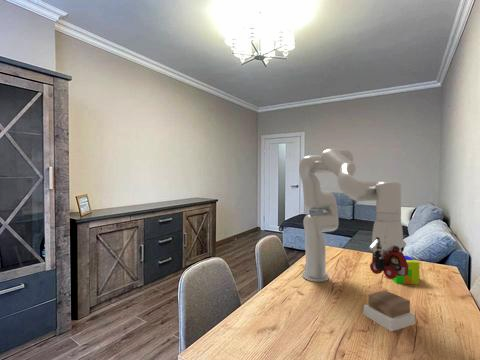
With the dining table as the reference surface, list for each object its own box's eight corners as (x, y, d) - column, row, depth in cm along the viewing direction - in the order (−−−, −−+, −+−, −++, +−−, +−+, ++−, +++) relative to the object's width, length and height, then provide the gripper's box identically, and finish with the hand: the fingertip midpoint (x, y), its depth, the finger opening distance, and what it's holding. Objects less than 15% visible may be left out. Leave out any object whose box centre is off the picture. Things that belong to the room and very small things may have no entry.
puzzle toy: (407, 275, 132) (407, 255, 131) (419, 284, 122) (419, 262, 122) (386, 275, 133) (386, 255, 132) (396, 283, 123) (396, 261, 123)
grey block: (363, 316, 95) (363, 305, 95) (385, 310, 99) (385, 299, 99) (391, 333, 85) (391, 320, 85) (414, 325, 89) (414, 313, 89)
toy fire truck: (400, 282, 84) (400, 250, 84) (365, 270, 95) (365, 242, 95) (412, 278, 88) (413, 247, 87) (378, 267, 99) (378, 239, 98)
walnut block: (368, 306, 94) (368, 294, 94) (385, 300, 98) (385, 290, 98) (392, 318, 86) (392, 306, 86) (409, 312, 90) (409, 300, 90)
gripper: (396, 214, 98) (396, 261, 98) (360, 217, 91) (360, 268, 92) (416, 217, 91) (416, 268, 91) (379, 220, 84) (379, 275, 85)
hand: (388, 267), depth 91 cm, fingers closed on toy fire truck, 7 cm apart
